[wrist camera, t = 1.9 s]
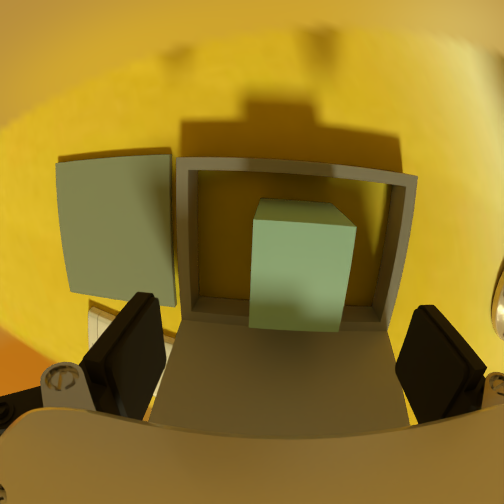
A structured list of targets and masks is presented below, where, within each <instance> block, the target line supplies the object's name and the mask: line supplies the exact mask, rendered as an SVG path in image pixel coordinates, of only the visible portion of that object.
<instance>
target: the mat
mask: <svg viewBox="0 0 504 504" xmlns="http://www.w3.org/2000/svg"><path fill="white" fill-rule="evenodd" d="M56 187H57V202H58V214H59V223H60V232H61V240H62V247H63V253H64V260H65V265H66V271H67V276H68V281H69V286H70V291H71V292H74V293H80V294H86V295H92V296H98V297H104V298H110V299H117V300H124V301H130V299H131V298H132V297H133V296H134V295H135V294H136V292H147V293H153V294H154V297H156V298H158V299H159V304H160V305H161V306H169V307H175V306H176V305H177V301H176V287H175V272H174V254H173V229H172V154H166V155H142V156H125V157H111V158H99V159H88V160H79V161H70V162H62V163H56Z"/></svg>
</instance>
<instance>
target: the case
mask: <svg viewBox="0 0 504 504" xmlns="http://www.w3.org/2000/svg"><path fill="white" fill-rule="evenodd" d="M198 170H228V171H255V172H274V173H289V174H303V175H315V176H326V177H336V178H345V179H354V180H363V181H371V182H378V183H386V184H392V193H391V201H390V209H389V217H388V224H387V231H386V237H385V243H384V249H383V255H382V260H381V265H380V270H379V275H378V280H377V285H376V290H375V294H374V299H373V303H372V306H344V307H343V312H342V317H341V322H340V326H339V331H387V330H388V327H389V323H390V320H391V316H392V312H393V309H394V305H395V301H396V297H397V293H398V289H399V285H400V281H401V277H402V272H403V268H404V263H405V258H406V253H407V248H408V242H409V237H410V231H411V225H412V218H413V212H414V204H415V197H416V188H417V179H418V176H414V175H410V174H405V173H399V172H393V171H386V170H380V169H373V168H365V167H357V166H349V165H340V164H331V163H321V162H310V161H298V160H284V159H267V158H244V157H177V158H176V220H177V251H178V272H179V288H180V303H181V315H182V320H191V321H199V322H209V323H219V324H229V325H240V326H249V308H250V300H239V299H227V298H216V297H205V296H199V264H198Z"/></svg>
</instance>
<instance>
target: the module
mask: <svg viewBox="0 0 504 504" xmlns="http://www.w3.org/2000/svg"><path fill="white" fill-rule="evenodd" d="M356 228H357V227H356V226H355V225H354V224H353V223H352V222H351V221H350V220H349V219H348V218H347V217H346V216H345V215H344V214H343V213H342V212H340V211H339V210H338V209H337V208H336V207H335V206H334V205H333V204H332V203H325V202H312V201H299V200H285V199H269V198H261V199H260V202H259V205H258V207H257V210H256V213H255V216H254V219H253V238H252V262H251V285H250V308H249V328H260V329H275V330H292V331H315V332H338V331H339V326H340V322H341V317H342V312H343V307H344V302H345V297H346V291H347V286H348V280H349V274H350V268H351V262H352V256H353V249H354V242H355V235H356Z"/></svg>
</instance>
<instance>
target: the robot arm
mask: <svg viewBox="0 0 504 504" xmlns="http://www.w3.org/2000/svg"><path fill="white" fill-rule="evenodd" d="M492 324H493V328H494V330H495V332H496V334H497V335H498V336H499V337H500V338H501V339H502V340H504V270H503V273H502V275H501V277H500V279H499V282H498V285H497V288H496V291H495V296H494V300H493V306H492ZM166 361H167V357H166V350H165V343H164V336H163V329H162V321H161V313H160V304H159V299H158V298H156V297H154V294H153V293H147V292H136V294H135V295H134V296H133V297H132V298H131V299H130V301H129V302H128V303H127V304H126V305H125V307H124V308H123V309H122V310H121V311H120V313H119V314H118V315H117V316H116V317H115V319H114V320H113V321H112V322H111V323H110V325H109V326H108V327H107V328H106V330H105V331H104V332H103V333H102V335H101V336H100V337H99V338H98V340H97V341H96V342H95V343H94V345H93V346H92V347H91V348H90V350H89V351H88V352H87V354H86V355H85V356H84V357H83V360H82V361H81V363H80V364H79V365H77V364H74V363H72V362H61V363H57V364H54V365H52V366H50V367H49V368H47V369H46V370H45V371H44V372H43V374H42V376H41V381H40V384H41V386H38V387H35V388H31V389H27V390H24V391H20V392H16V393H12V394H8V395H5V396H1V397H0V504H504V374H503V373H500V372H492V373H489V374H488V375H487V377H486V378H485V377H484V376H483V374H484V373H485V371H486V369H487V367H486V365H485V364H484V363H483V362H482V360H481V359H480V358H479V357H478V355H477V354H476V353H475V352H474V350H473V349H472V348H471V347H470V346H469V344H468V343H467V342H466V341H465V340H464V338H463V337H462V336H461V335H460V334H459V333H458V331H457V330H456V329H455V328H454V327H453V326H452V325H451V323H450V322H449V321H448V320H447V319H446V318H445V317H444V315H443V314H442V313H441V312H440V311H439V310H438V309H437V308H436V307H435V306H434V305H420V306H419V307H418V308H417V309H415V310H414V312H413V315H412V319H411V322H410V325H409V328H408V331H407V334H406V337H405V340H404V343H403V346H402V348H401V351H400V354H399V357H398V359H397V362H396V365H395V373H396V375H397V378H398V380H399V382H400V384H401V386H402V388H403V390H404V392H405V395H406V397H407V399H408V401H409V403H410V406H411V408H412V410H413V412H414V414H415V417H416V419H417V421H418V424H417V425H412V426H406V427H400V428H393V429H386V430H379V431H370V432H361V433H351V434H337V435H318V436H265V435H245V434H232V433H221V432H211V431H203V430H195V429H188V428H182V427H175V426H169V425H163V424H157V423H152V422H147V421H142V420H143V417H144V415H145V412H146V410H147V408H148V405H149V403H150V401H151V398H152V396H153V394H154V391H155V389H156V387H157V384H158V382H159V380H160V378H161V375H162V373H163V371H164V368H165V366H166Z"/></svg>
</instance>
